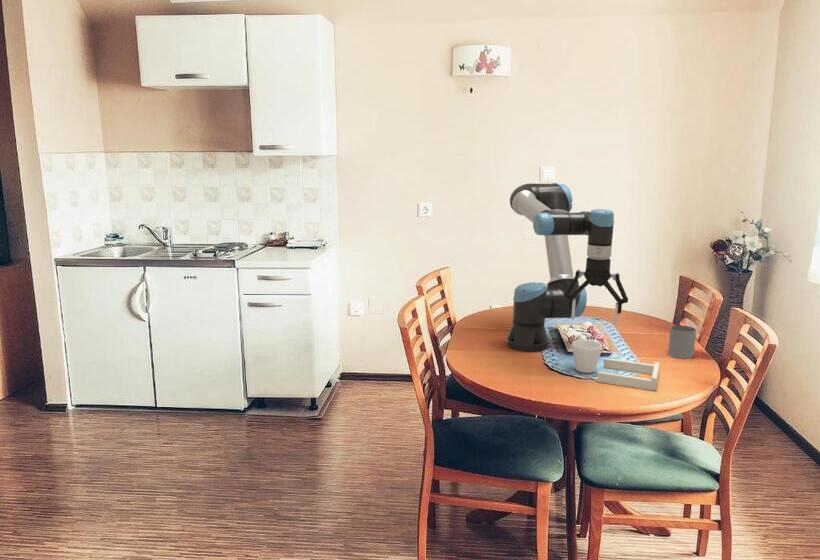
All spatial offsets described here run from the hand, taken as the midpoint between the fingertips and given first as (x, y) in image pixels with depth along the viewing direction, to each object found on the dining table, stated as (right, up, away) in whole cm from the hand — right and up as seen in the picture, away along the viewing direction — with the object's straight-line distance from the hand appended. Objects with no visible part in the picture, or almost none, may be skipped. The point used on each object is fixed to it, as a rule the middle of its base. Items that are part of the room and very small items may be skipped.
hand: (593, 320), depth 213 cm
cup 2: (+37, -14, +19) cm, 44 cm away
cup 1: (-2, -17, +3) cm, 17 cm away
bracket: (+10, -18, -4) cm, 21 cm away
